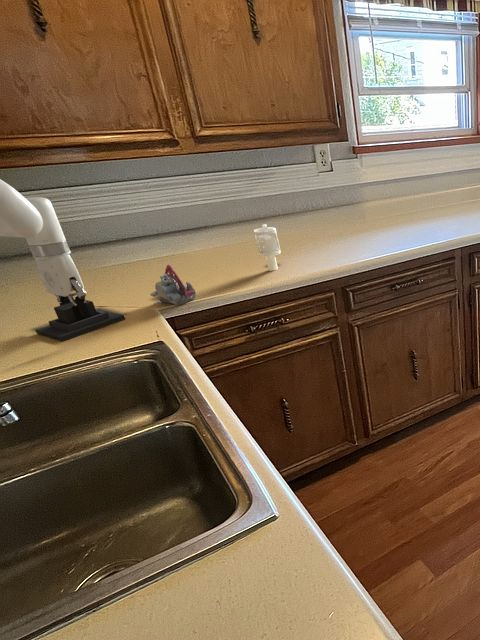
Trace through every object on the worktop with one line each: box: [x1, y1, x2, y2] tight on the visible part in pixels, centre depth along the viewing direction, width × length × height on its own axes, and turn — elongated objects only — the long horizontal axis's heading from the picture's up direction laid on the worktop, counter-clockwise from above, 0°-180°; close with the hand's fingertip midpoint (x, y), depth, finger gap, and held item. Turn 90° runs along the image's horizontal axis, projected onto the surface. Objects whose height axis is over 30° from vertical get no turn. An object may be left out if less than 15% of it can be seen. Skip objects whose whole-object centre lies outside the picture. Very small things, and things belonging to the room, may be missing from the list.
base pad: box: [34, 308, 126, 342], centre depth 138 cm, size 16×12×3 cm
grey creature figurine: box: [149, 264, 197, 306], centre depth 151 cm, size 11×11×12 cm
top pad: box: [53, 299, 98, 324], centre depth 136 cm, size 7×5×4 cm
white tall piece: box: [253, 223, 282, 272], centre depth 177 cm, size 7×7×15 cm
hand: (78, 316), depth 137 cm, fingers closed on top pad, 5 cm apart
